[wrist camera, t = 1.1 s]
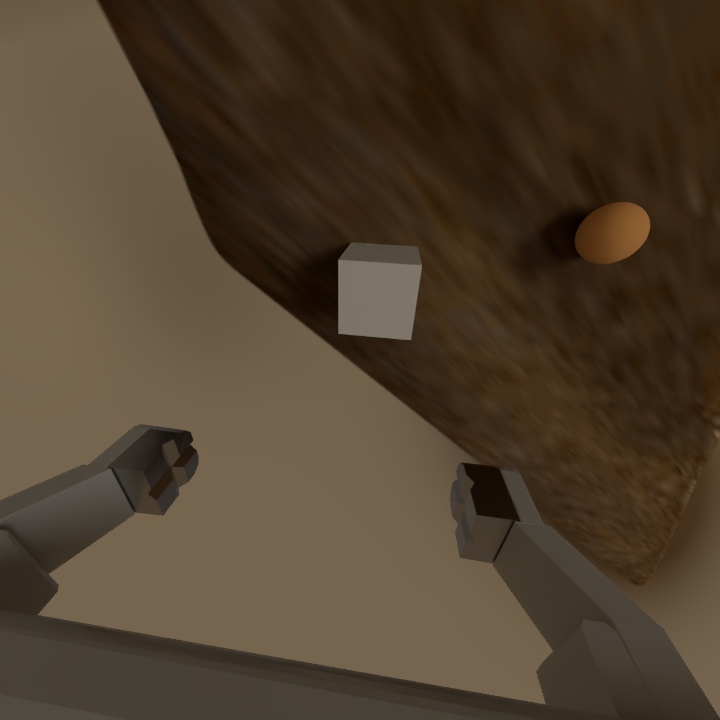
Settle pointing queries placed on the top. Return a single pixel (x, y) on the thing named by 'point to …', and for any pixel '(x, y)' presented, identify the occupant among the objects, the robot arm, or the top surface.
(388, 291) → the grey matte cube
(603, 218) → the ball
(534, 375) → the top surface
